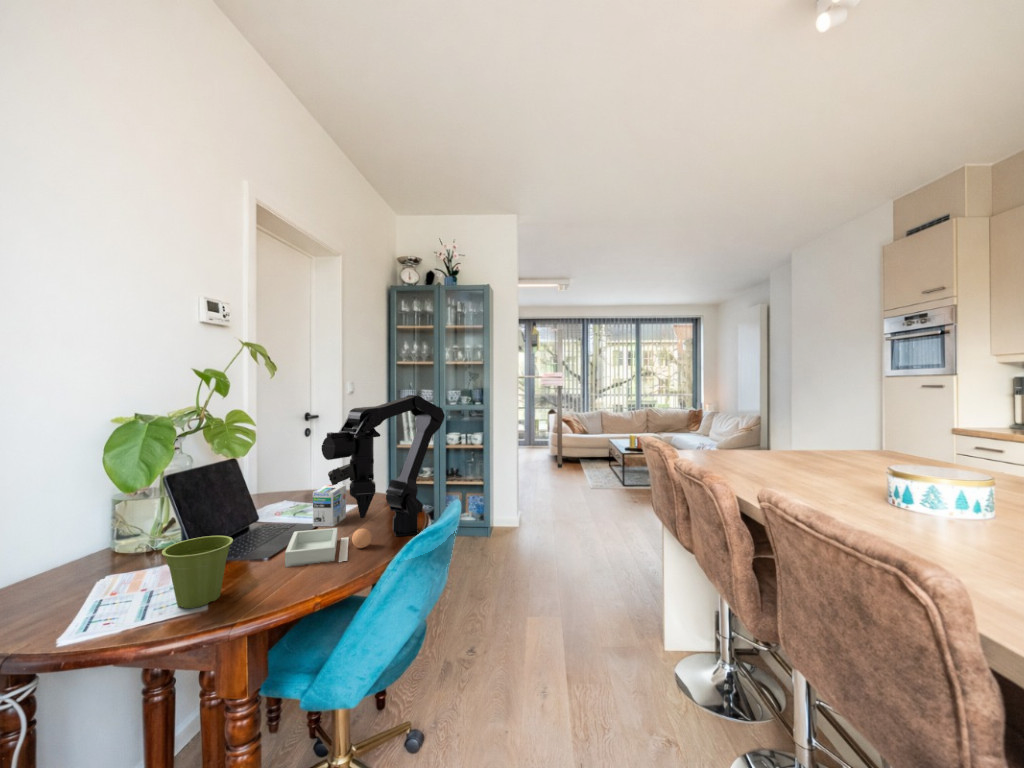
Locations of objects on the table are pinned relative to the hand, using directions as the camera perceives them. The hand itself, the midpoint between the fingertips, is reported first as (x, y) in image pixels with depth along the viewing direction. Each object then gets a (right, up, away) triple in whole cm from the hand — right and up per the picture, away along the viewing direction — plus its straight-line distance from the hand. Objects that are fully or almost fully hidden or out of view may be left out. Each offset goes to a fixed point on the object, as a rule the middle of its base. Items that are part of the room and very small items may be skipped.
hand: (362, 512), depth 122 cm
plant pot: (-23, -9, -30) cm, 39 cm away
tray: (-11, -9, -4) cm, 15 cm away
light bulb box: (-18, -10, +22) cm, 30 cm away
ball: (0, -7, 0) cm, 7 cm away
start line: (-4, -9, -2) cm, 10 cm away
